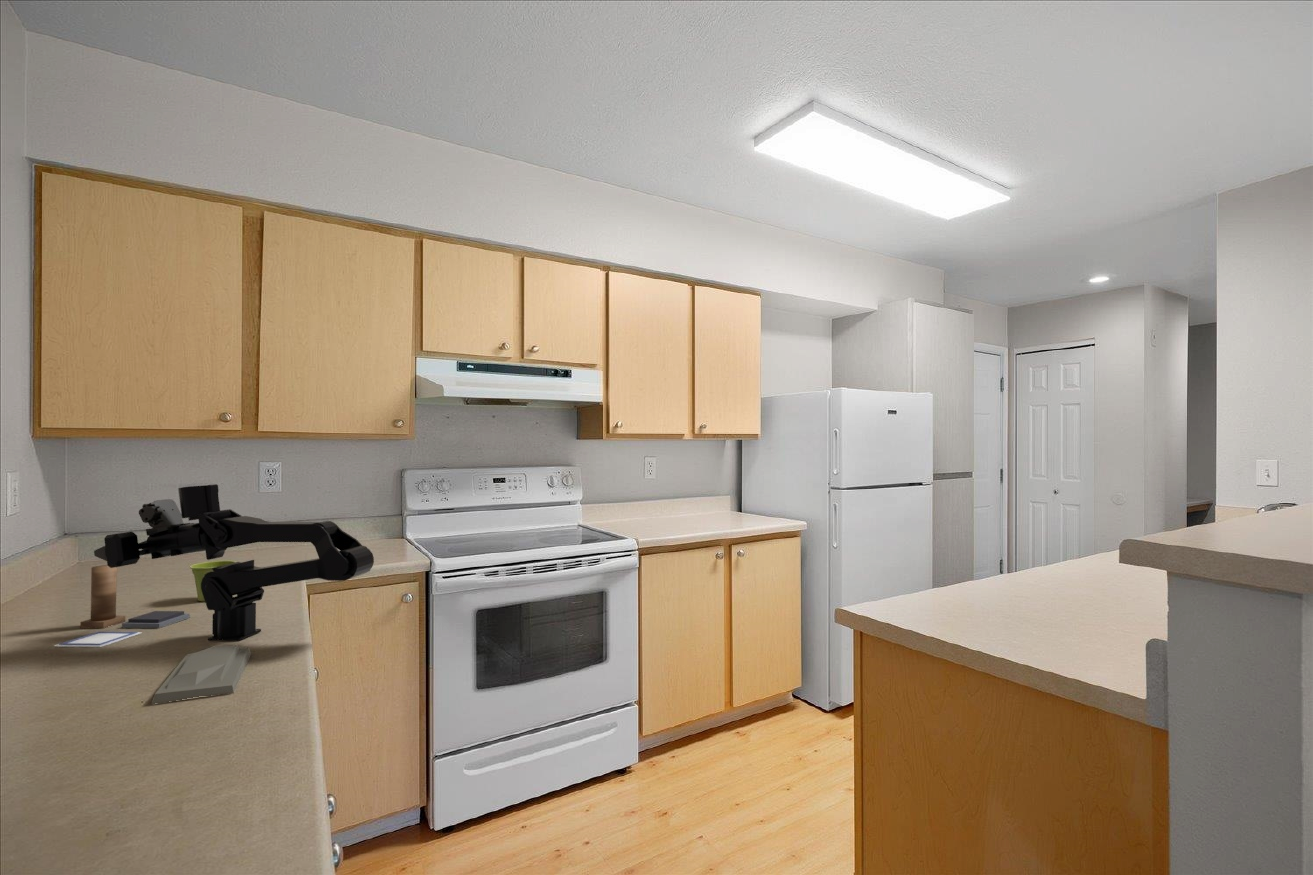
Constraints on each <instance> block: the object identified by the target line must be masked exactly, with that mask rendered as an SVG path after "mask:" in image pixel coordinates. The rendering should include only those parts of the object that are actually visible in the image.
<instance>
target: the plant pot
mask: <svg viewBox="0 0 1313 875" xmlns="http://www.w3.org/2000/svg"><path fill="white" fill-rule="evenodd" d="M235 562H237V561H236V560H217V561H208V562H207V561H206V562H199V563H195V564H192V565H190V566H189V569H191V572H192V574H193V577H194V582H195V588H196V593H197V600H198V601H199V602H205V599H204V596H203V593H202V590H201V582H202V579H203V577H204V575H205V574H206V573H208V572H211V571H213V570H212V568H214V567H218V566H222V565H227V564H231V563H235ZM205 603H206V602H205Z"/></svg>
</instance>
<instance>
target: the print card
mask: <svg viewBox="0 0 1313 875" xmlns="http://www.w3.org/2000/svg"><path fill="white" fill-rule="evenodd" d="M140 634H143V632H141V631H97V632H94V633H93V632H92V633H91V634H87V635H84V636H81V637H77V638H74V639H71V640H67V641H64V642H61V643H58V644H55V645H53V647H55V648H56V647H57V648H61V647H62V648H101V647H105V646H108V645H110V644H111V645H112V644H114V643H117V642H120V641H122V640H126V639H128V638H132V637H134V636H137V635H140Z"/></svg>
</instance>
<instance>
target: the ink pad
mask: <svg viewBox="0 0 1313 875" xmlns="http://www.w3.org/2000/svg"><path fill="white" fill-rule="evenodd" d="M190 616H191V614H190V613H185V611H183V610H153V611H151V612H147V613H143V614H140V615H138V616H134V617H132V618H131V617H129V618H128V620H127V621H125V622H123V623H121V628H122V629H124V628H125V629H129V628H130V629H160V628H164V627H167V626H169V625H173V624H175V623H178V622H181V621H184V620H187V619H190V618H191V617H190Z"/></svg>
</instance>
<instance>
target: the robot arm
mask: <svg viewBox="0 0 1313 875" xmlns="http://www.w3.org/2000/svg"><path fill="white" fill-rule="evenodd" d="M177 490H178V498H179V505H180V509H179V507H178V505H177V503H176V502H175V501H174V499H171V498H168V499H167V498H166V499H157V500H153V502H149V503H144V504H142V507H141V508H140V509H139V510H138V515H139V517H140V519H141V521H142V523H144V524H148V525H149V526H150V527H151V528H146V529H145V532H146V536H148V537H147V538H146V540H144V541H142V542H139V540H138V535H137V534H136V533H135V532H134V531H128V532H126V531H125V532H119V533H114V534H113V533H112V534H111V533H110V534H106V536H105V537H104V538H103V539H104V545H103V546H101V547H99V548H97V549H94V550H93V554H94V557H96V558H98V559H101V560H103V561H105V562H106V565H108V566H109V567H110V568H114V567H117V568H119V567H125V566H128V565H129V566H130V565H135V564H137V563H138V562H139V560H140V559H141V556H143V555H144V556H145V555H150V554H151V555H150V556H151V560H156V559H160V558H161V559H162V558H167V557H174V556H181V555H186V554H193V553H199V552H205V556H206V560H208V561H209V560H210V561H211V560H215V559H218V558H222V557H223V556H224V554H225V553H226V550H228V549H229V548H235V547H239V546H244V545H245V546H246V545H249V544H251V545H252V544H255V543H311V544H312V545H313V547H314V548H315V551H316V553H317V556H318V557H317V558H314V559H313V558H311V559H307V560H306V559H305V560H300V561H294V562H287V563H281V564H275V565H268V566H263V567H258V566H257V565H256V566H255V559H251V560H245V561H236V562H235V563H231V564H227V565H222V566H218V567H214V568H212V570H213V571H211V572H208V573H206V574H205V575H204V577H203V579H202V582H201V590H202V593H203V596H204V599H205V605H206V610H208V611H214V613H213V614H212V621H211V622H212V631H211V632H212V636H209V637H207V640H208V641H231V642H232V641H233V642H234V641H242V640H244V639H246V638H248V637H250V636H254V635H256V634H258V633H260V632H262V629H261V628H257V627H256V626H257V623H256V622H257V621H256V620H257V614H256V613H257V601H261V600H262V599H263V596H264V594H265V589H263V587H271V586H277V585H283V584H289V583H290V584H291V583H296V582H297V583H298V582H302V581H309V580H316V579H319V580H324V581H335V582H336V581H337V582H345V581H349V580H350V579H354V578H355V577H359V576H361V575H365V574H367V573H369V572H370V571H371V570H372V568H373V567H374V566H373V565H374V562H375V561H374V560H375V558H374V554H373V552H372V551H371V550H370V549H369V548H368V547H367V546H365V545H363V544H362V543H360V541H359V540H358V539H357V538H355V537H354V536H352V535H350V534H349V533H347V532H345V531H344V530H342V528H340V527H339V525H337V523H335V522H334V521H332V520H331V521H330V520H325V521H268V520H264V519H262V518H258V517H254V516H248V515H244V516H243V515H241V514H239V513H238V512H236V511H234V510H233V509H221V507H220V501H219V500H220V498H219V485H218V484H205V485H193V486H192V485H191V486H183V487H178V488H177ZM184 519H187V520H188V522H185V523H184V521H183V520H184ZM196 520H198V522H189V521H196Z"/></svg>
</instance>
